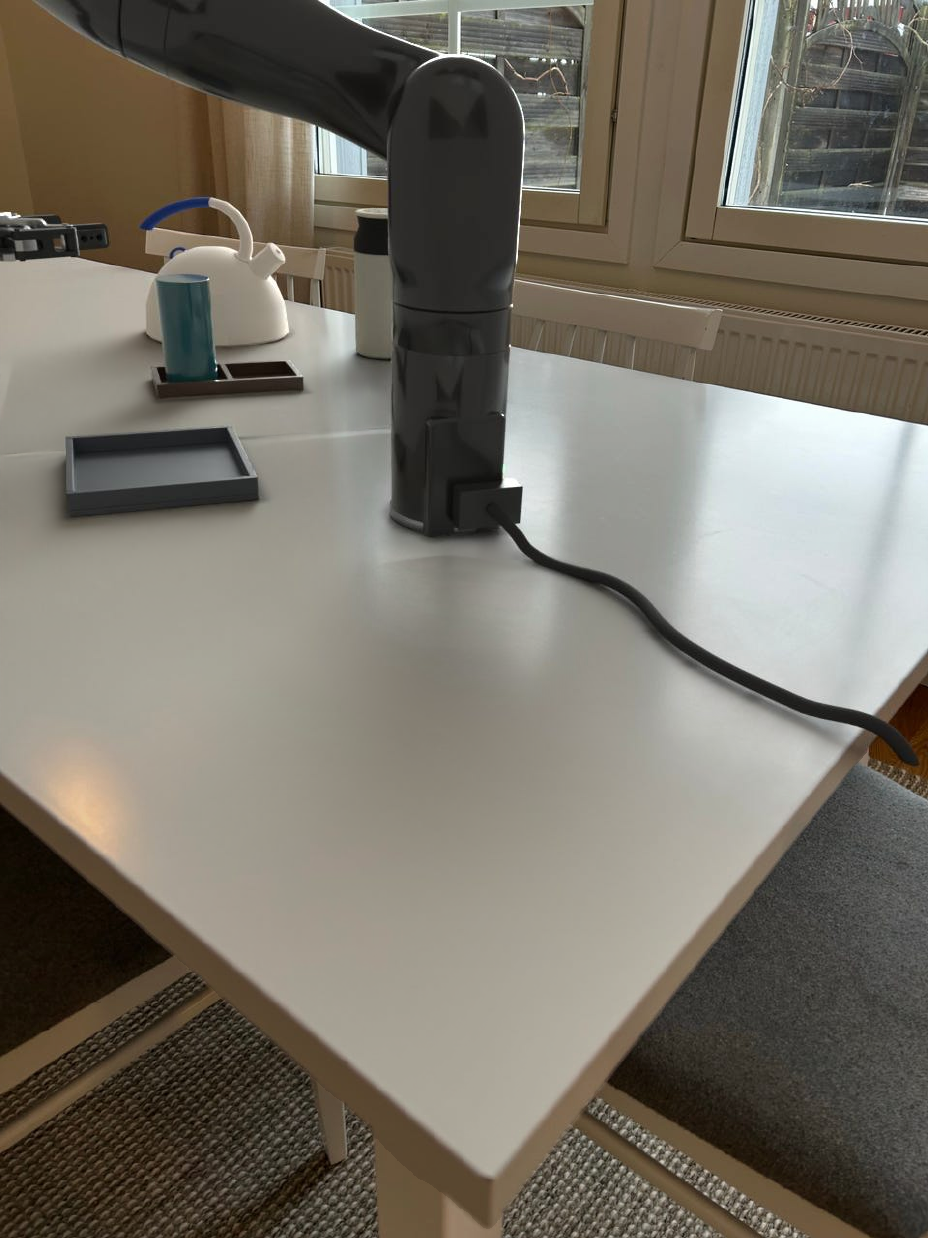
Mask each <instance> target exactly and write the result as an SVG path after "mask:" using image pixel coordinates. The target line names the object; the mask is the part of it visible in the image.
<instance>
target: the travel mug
mask: <svg viewBox="0 0 928 1238" xmlns="http://www.w3.org/2000/svg"><path fill="white" fill-rule="evenodd" d="M354 214H355V215H356V218H357V222H358V228H357V229H356V232H355V234H354V236H353V279H354V281H353V282H354V331H355V334H354V335H355V336H354V337H355V352H356V353H357V354H359V355H360V356H363V357H365V358H369V359H375V360H391V301H392V299H391V273H390V265H389V256H388V208H386V207H385V208H383V207H382V208H381V207H380V208H379V207H377V208H376V207H375V208H374V207H370V208H359V209H355V211H354Z"/></svg>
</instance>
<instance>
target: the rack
mask: <svg viewBox="0 0 928 1238" xmlns="http://www.w3.org/2000/svg"><path fill="white" fill-rule="evenodd" d="M150 371H151V379H152V384H153V387H154V389H155V393H156V396H157V399H171V398H190V397H191V398H192V397H205V396H207V397H208V396H222V395H240V394H241V395H243V394H257V393H276V392H291V391H292V392H293V391H304V390H305V389H304V387H305V386H304V376H303V375H302V374H301V372H299V370H298V369H297V367H296V366H294V364H293V363H292V362H291V361H290V360H289V359H275V360H274V359H273V360H255V361H254V360H253V361H233V362H232V361H231V362H217V373H218V380H210V381H191V382H172V383H167V381H166V372H165V365H151V366H150Z"/></svg>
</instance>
